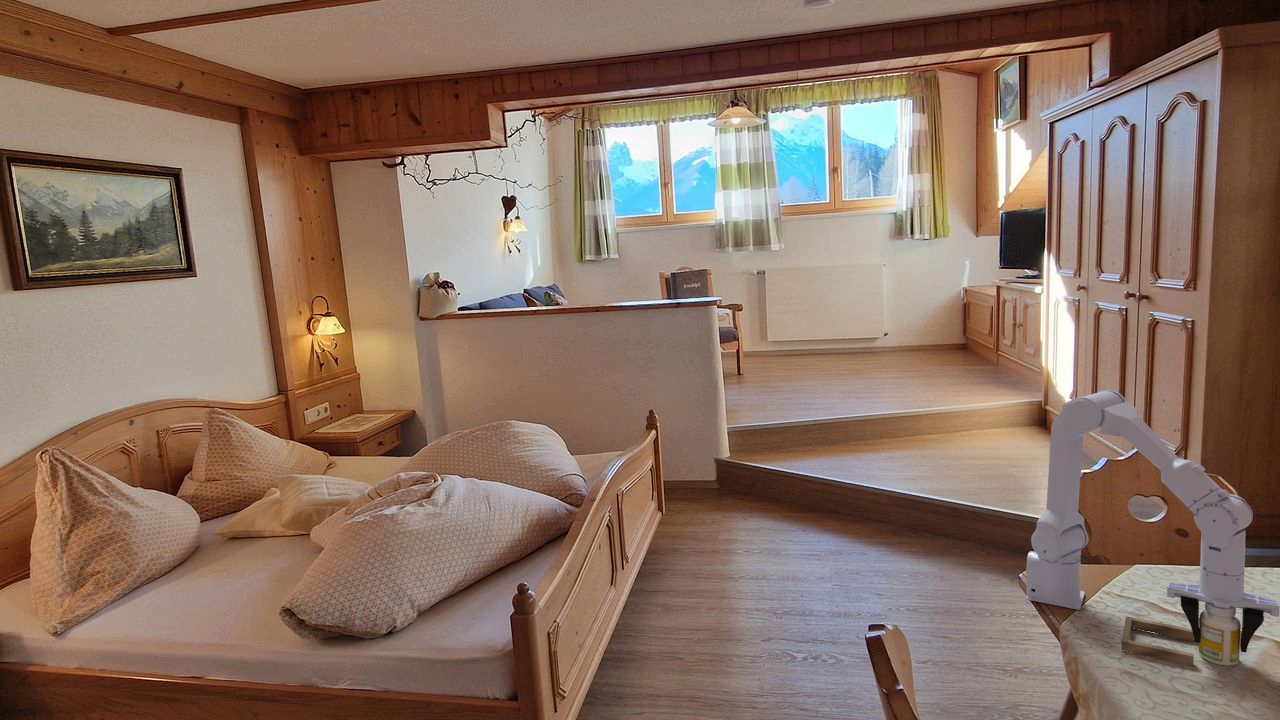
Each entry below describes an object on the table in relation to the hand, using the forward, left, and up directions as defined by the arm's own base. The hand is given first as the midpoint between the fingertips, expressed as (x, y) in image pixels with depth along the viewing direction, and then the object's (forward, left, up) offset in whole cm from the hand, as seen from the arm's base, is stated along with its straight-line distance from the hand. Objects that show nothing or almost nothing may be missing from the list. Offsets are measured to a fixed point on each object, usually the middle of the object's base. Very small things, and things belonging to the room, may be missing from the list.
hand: (1219, 644), depth 121 cm
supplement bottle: (0, 0, -3) cm, 3 cm away
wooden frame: (-8, 0, -2) cm, 8 cm away
